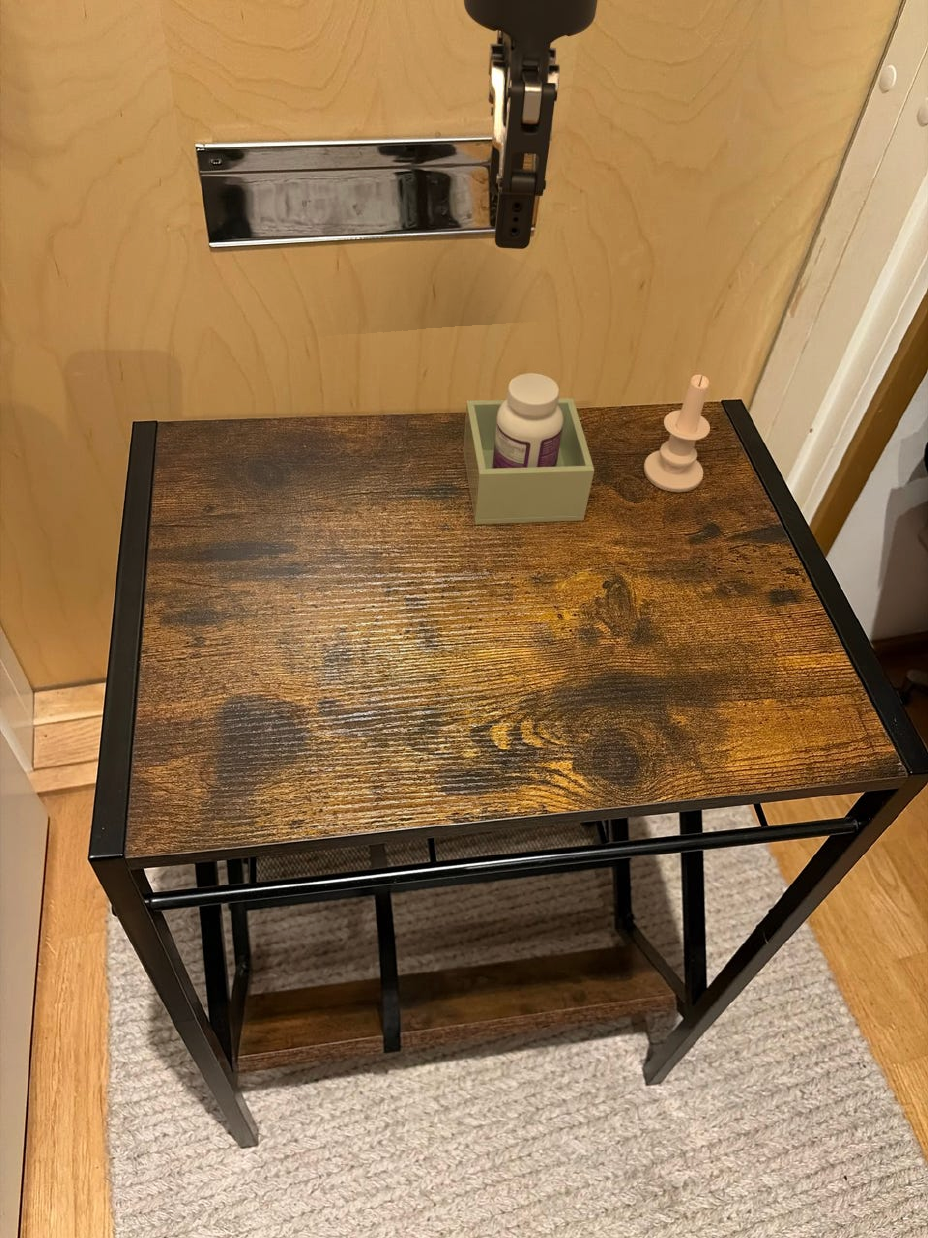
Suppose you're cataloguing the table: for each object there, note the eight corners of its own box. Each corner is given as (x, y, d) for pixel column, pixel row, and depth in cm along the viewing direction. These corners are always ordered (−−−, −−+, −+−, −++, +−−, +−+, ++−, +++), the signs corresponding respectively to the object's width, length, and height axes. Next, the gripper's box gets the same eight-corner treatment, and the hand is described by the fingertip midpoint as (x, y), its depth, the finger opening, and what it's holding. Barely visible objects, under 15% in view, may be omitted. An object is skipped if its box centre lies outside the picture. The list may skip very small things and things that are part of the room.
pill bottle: (542, 456, 83) (557, 363, 75) (561, 497, 80) (578, 404, 72) (483, 463, 82) (492, 370, 74) (499, 505, 79) (510, 412, 71)
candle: (708, 492, 82) (742, 394, 74) (650, 493, 81) (678, 395, 73) (693, 452, 85) (724, 354, 77) (637, 453, 85) (662, 355, 77)
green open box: (583, 520, 79) (594, 470, 75) (474, 524, 78) (479, 473, 73) (564, 448, 85) (573, 397, 80) (462, 451, 84) (466, 400, 79)
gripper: (466, -124, 55) (450, 160, 67) (472, -46, 45) (452, 266, 58) (594, -114, 55) (555, 166, 67) (625, -35, 46) (573, 272, 58)
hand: (507, 212), depth 63 cm, fingers open, 8 cm apart
